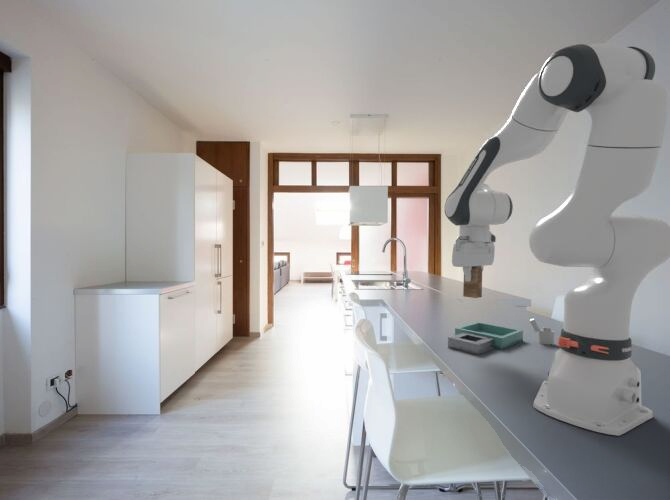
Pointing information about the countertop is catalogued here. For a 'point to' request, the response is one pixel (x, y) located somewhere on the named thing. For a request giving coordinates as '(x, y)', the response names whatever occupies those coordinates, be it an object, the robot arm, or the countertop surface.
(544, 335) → the lighter
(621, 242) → the robot arm
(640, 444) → the countertop surface
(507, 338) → the tray
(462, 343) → the grey square box
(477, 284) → the brown wooden tall block
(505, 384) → the countertop surface
